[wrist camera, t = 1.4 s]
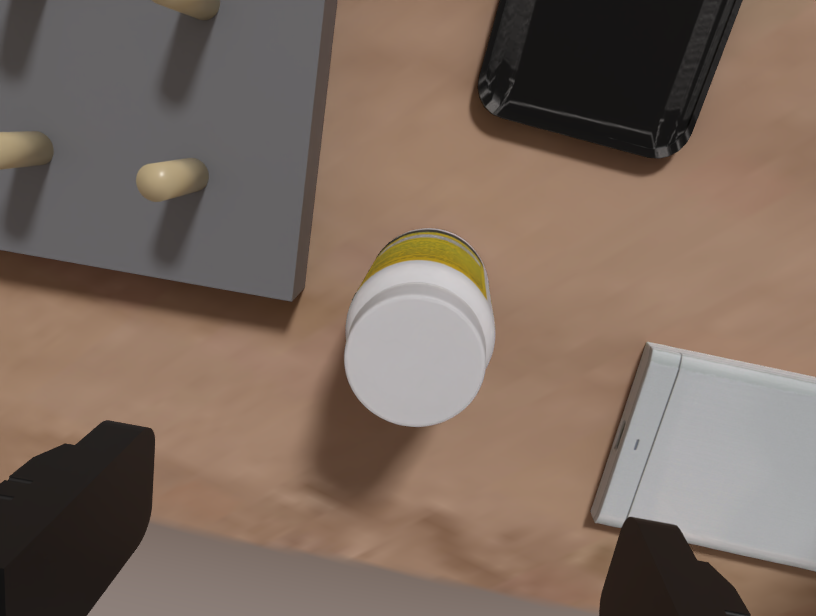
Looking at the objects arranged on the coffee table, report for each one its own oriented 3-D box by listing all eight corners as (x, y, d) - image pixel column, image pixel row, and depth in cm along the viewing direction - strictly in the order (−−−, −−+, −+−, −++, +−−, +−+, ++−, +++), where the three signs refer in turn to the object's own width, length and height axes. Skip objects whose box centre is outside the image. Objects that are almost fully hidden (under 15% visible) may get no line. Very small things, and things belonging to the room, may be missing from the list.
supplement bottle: (355, 245, 25) (305, 304, 17) (470, 211, 25) (473, 257, 17) (391, 354, 27) (360, 456, 19) (501, 325, 26) (519, 418, 18)
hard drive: (975, 418, 24) (654, 350, 24) (886, 591, 27) (595, 528, 27) (943, 399, 26) (642, 336, 26) (862, 564, 28) (587, 506, 28)
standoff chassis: (348, -100, 22) (317, -161, 17) (304, 287, 26) (269, 326, 21) (-43, -161, 22) (-181, -237, 18) (-26, 229, 26) (-133, 254, 22)
